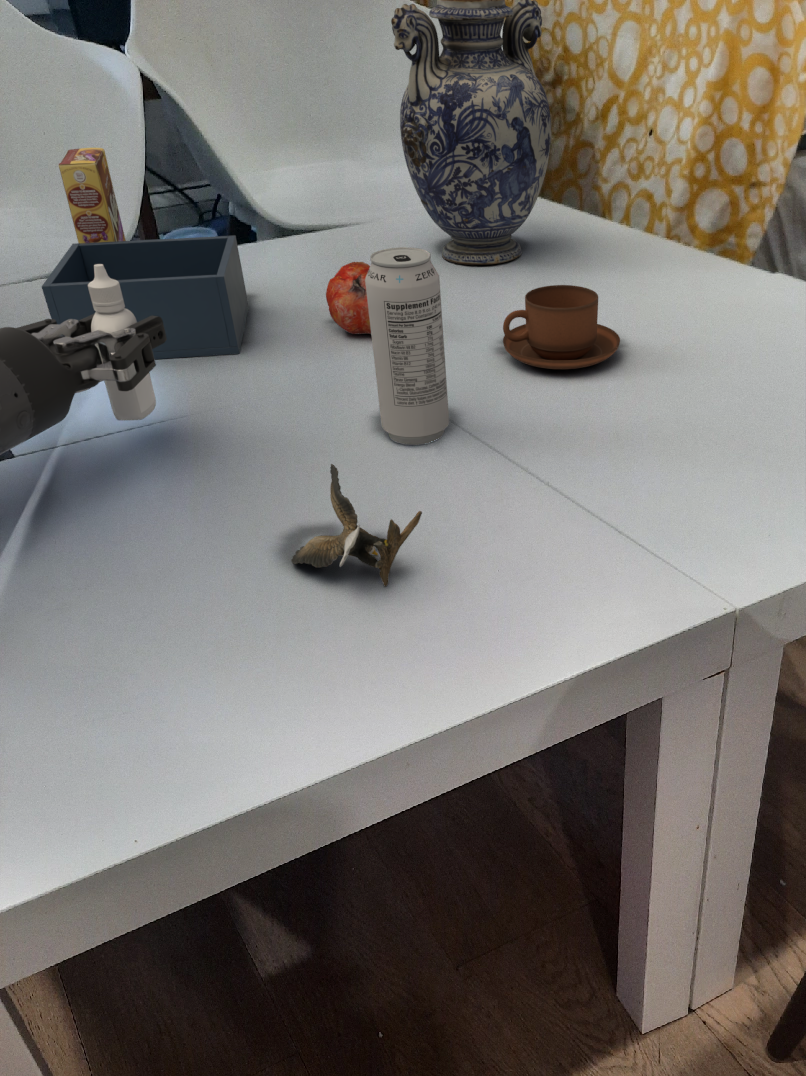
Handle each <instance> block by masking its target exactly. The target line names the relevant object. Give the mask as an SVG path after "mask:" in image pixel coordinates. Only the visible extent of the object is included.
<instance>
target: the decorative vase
mask: <svg viewBox="0 0 806 1076" xmlns="http://www.w3.org/2000/svg"><path fill="white" fill-rule="evenodd" d="M393 13H394V15H393V16H392V18H391V20H390V22H391V29H392V30H391V31H392V33H393V36H394V42H393V47H394V49H395V50H396V51H399V50H401V51H403V52H404V54H405V57H406V58H407V59H408V60H409V61H410V62H411V66H410V69H409V75H408V83H407V85H406V88H405V90H404V93H403V95H402V99H401V102H400V109H399V110H400V111H399V130H400V138H401V139H400V140H401V146H402V150H403V156H404V160H405V164H406V168H407V172H408V175H409V177H410V179H411V182H412V185H413V188H414V190H415V192H416V194H417V196H418V198H419V200H420V202H421V204H422V206H423V208H424V209H425V212H426V213H427V214H428V216H429V217H430V219H431V220H432V221H433V223H435V225H436V226H437V227H438V228H439V229H440V230H441V231H443V232H444V233H446V234H447V235H448V236H450V238H451V240H449V241H448V242H447V243H446V244H445V245H444V246H443V247H442V250H441V257H442V258H443V259H444V261H448V262H450V263H454V264H458V265H464V266H465V265H466V266H488V265H489V266H490V265H499V264H503V263H507V262H511V261H514V260H516V259H518V258H520V257H521V255H522V253H523V251H522V247H521V244H520V243H519V242H518V241H517V240H515V239H513V238H512V235H513V234H514V233H516V232H517V230H519V229H520V227H522V226H523V224H524V223H525V222H526V221H527V219H528V218H529V216H530V214H531V212H532V211H533V208H534V206H535V205H536V202H537V201H538V197H539V196H540V193H541V190H542V187H543V183H544V180H545V177H546V174H547V173H546V172H547V169H548V166H549V165H548V164H549V159H550V151H551V143H552V120H551V119H552V118H551V111H550V104H549V100H548V96H547V93H546V91H545V88H544V87H543V85H542V83H541V81H540V80H539V79H538V77H537V75H536V72H535V69H534V65H533V60H532V56H531V55H530V52H529V51H530V49H532V48H533V47H535V45H536V44H537V42H538V41H537V40H538V39H540V38H541V36H542V35H543V34H542V28H541V27H542V25H543V17H542V9H541V8H540V7H539V2H538V1H537V0H518V1H517V3H516V4H515V5H514V6H512V7H510V6H508V5H507V3H506V0H436V6H434V7H432V8H431V9H430V10H429V13H428V14H427V13H426V12H424V11H423V10H421V9H419V8H418V7H417V5H416V4H414V3H410V4H409V5H408V4H407V3H403V4H402V5H401V7H396V8H395V9H394V12H393ZM430 17H431V18H432V19H437V20H438V23H439V27H440V29H441V34H442V37H441V39H440V42H439V36H438V31H437V27H436V25H435V24H434V22H433V20H432V19H431V18H430ZM525 40H526V41H527V42H525ZM439 43H440V44H441V46H442V51H441V53H440V44H439ZM415 47H416V48H415ZM414 48H415V51H414V53H411V52H412V51H413V49H414Z"/></svg>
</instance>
